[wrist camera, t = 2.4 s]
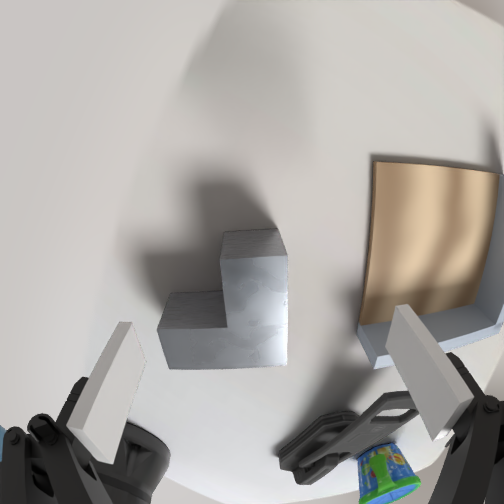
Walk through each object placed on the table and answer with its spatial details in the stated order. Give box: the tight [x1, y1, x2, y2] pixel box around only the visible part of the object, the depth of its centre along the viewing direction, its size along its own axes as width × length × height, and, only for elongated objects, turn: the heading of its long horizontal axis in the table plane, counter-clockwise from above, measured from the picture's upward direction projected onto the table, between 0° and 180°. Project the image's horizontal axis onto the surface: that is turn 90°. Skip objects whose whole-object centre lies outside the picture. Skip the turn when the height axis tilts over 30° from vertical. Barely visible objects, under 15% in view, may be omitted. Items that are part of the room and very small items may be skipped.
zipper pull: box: [279, 391, 420, 485], centre depth 29 cm, size 9×7×25 cm
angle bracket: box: [157, 229, 288, 370], centre depth 21 cm, size 9×9×5 cm
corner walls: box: [357, 174, 504, 369], centre depth 21 cm, size 16×16×5 cm
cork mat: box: [359, 161, 500, 326], centre depth 22 cm, size 15×14×1 cm
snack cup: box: [358, 443, 421, 504], centre depth 33 cm, size 16×10×10 cm
